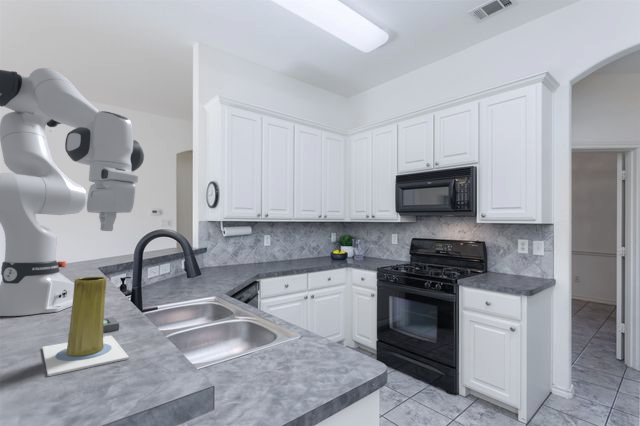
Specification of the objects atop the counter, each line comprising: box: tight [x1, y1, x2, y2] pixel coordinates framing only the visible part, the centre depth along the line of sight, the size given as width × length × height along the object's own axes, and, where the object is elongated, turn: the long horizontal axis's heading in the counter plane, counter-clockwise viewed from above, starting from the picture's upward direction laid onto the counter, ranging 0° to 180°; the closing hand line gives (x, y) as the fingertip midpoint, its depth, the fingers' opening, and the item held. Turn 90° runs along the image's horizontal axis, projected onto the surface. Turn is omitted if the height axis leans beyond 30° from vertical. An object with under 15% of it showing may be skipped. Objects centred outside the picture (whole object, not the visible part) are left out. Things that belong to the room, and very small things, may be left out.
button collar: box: [103, 316, 120, 333], centre depth 79 cm, size 7×7×2 cm
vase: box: [66, 276, 107, 356], centre depth 64 cm, size 6×6×14 cm
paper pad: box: [41, 335, 130, 377], centre depth 64 cm, size 16×12×1 cm
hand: (106, 231), depth 80 cm, fingers closed
